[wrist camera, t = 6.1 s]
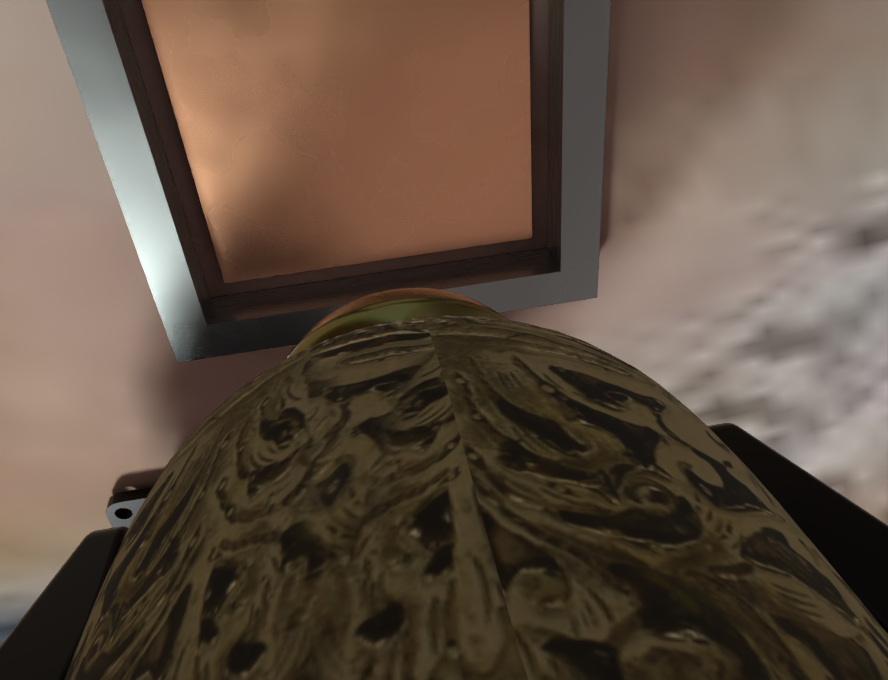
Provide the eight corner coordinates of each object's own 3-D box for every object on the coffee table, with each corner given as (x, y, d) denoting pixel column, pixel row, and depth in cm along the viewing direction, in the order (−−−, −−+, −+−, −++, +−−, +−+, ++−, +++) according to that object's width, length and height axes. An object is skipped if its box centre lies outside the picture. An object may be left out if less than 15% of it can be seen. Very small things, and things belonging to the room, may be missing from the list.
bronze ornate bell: (645, 35, 9) (1538, 814, 3) (683, 476, 13) (1036, 1152, 7) (-6, 229, 9) (-688, 1394, 3) (249, 599, 14) (213, 1362, 7)
